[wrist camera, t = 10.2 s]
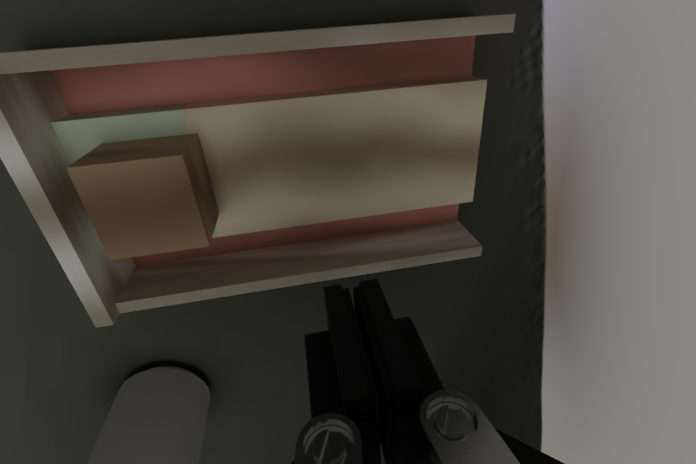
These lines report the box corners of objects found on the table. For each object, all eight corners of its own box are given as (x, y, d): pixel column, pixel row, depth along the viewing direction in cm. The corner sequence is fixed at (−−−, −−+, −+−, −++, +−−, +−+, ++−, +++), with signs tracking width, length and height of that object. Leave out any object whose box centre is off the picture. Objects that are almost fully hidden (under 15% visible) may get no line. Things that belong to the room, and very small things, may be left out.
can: (228, 394, 34) (208, 551, 24) (159, 425, 35) (111, 593, 25) (177, 346, 31) (128, 509, 20) (101, 383, 31) (15, 560, 21)
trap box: (453, 225, 29) (488, 263, 25) (127, 273, 26) (96, 327, 22) (473, 16, 22) (527, 13, 17) (25, 50, 19) (-57, 57, 14)
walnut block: (219, 213, 23) (209, 246, 19) (135, 224, 22) (109, 260, 19) (198, 133, 20) (182, 155, 17) (102, 143, 20) (65, 167, 16)
